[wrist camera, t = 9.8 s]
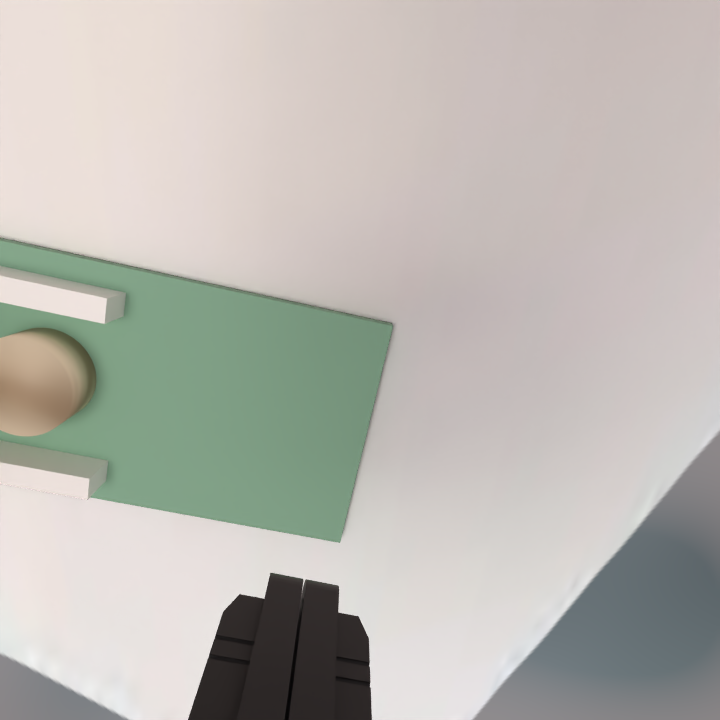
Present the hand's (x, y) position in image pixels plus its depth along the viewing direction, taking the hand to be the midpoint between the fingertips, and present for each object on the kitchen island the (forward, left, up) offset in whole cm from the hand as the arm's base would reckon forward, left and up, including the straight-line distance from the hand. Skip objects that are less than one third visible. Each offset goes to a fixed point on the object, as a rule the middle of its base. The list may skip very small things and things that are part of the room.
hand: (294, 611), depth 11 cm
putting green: (+5, -10, -23) cm, 25 cm away
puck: (+5, -17, -22) cm, 28 cm away
